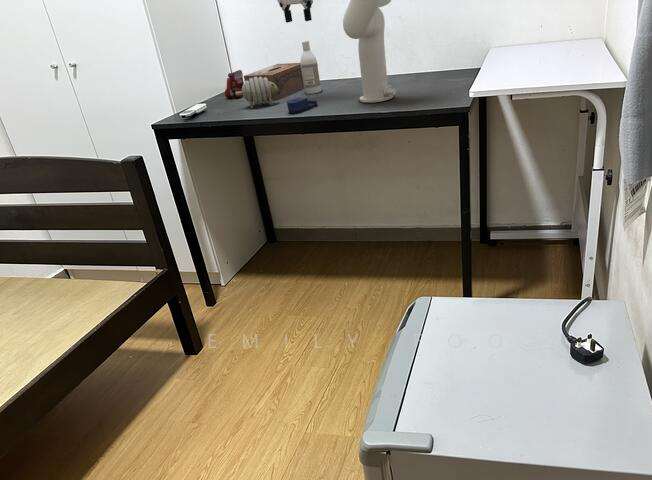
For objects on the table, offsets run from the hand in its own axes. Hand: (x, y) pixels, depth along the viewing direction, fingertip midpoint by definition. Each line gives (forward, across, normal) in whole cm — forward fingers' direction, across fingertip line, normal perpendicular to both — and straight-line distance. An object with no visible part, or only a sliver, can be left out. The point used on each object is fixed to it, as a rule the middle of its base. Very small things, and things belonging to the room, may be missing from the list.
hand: (298, 21), depth 209 cm
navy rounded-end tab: (+28, -9, +16) cm, 34 cm away
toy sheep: (+28, +16, +13) cm, 35 cm away
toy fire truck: (+28, +43, 0) cm, 52 cm away
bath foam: (+28, +8, -11) cm, 32 cm away
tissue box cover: (+28, +25, -8) cm, 39 cm away
